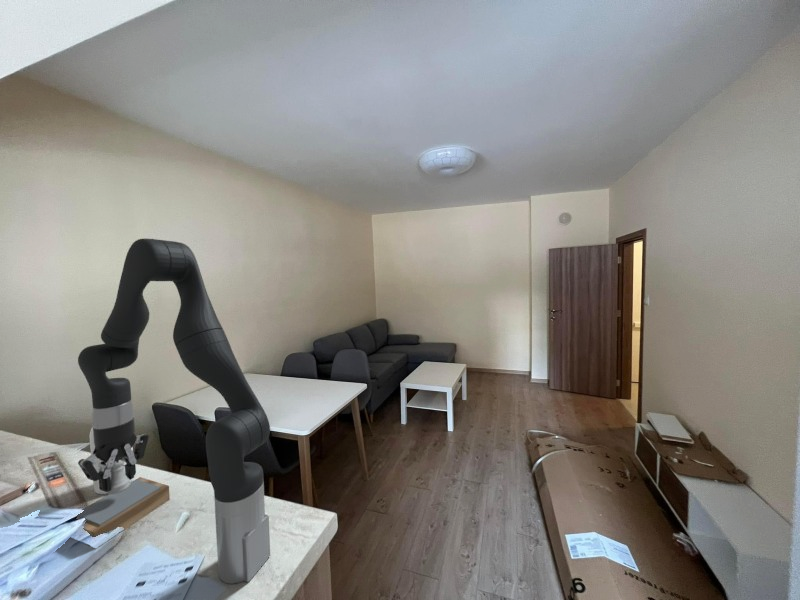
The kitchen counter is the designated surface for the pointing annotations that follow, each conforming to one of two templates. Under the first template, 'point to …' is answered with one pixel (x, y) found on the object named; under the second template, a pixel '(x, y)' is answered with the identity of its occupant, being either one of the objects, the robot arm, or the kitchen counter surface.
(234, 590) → the kitchen counter surface
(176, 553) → the kitchen counter surface
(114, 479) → the rook chess piece
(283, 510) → the kitchen counter surface
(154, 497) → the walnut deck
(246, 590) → the kitchen counter surface
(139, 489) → the slate mat
